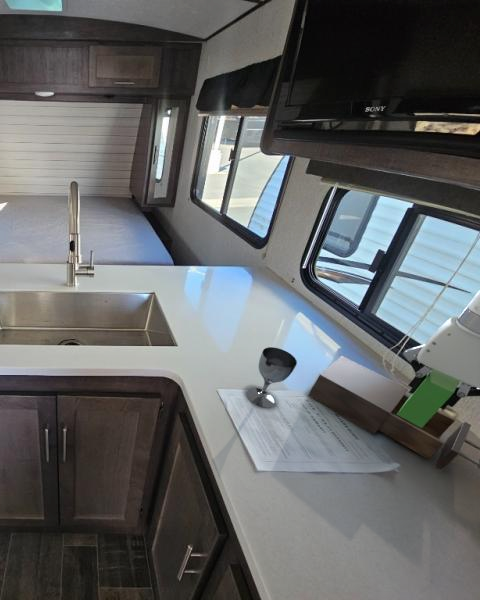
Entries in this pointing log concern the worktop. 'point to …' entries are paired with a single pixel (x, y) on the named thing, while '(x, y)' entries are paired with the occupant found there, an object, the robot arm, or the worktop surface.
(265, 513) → the worktop surface
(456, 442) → the drawer
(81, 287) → the worktop surface
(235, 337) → the worktop surface
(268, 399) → the wine glass
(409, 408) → the green rectangular prism
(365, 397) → the cabinet
